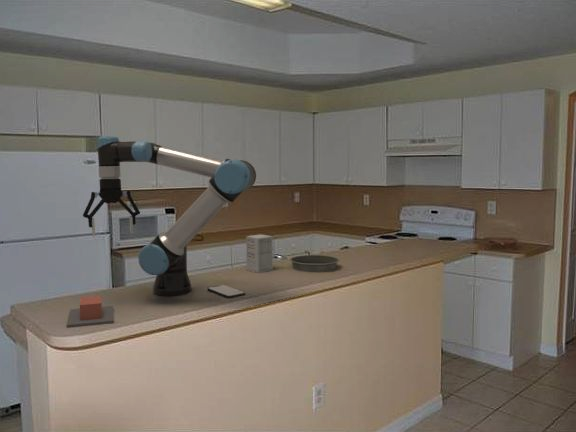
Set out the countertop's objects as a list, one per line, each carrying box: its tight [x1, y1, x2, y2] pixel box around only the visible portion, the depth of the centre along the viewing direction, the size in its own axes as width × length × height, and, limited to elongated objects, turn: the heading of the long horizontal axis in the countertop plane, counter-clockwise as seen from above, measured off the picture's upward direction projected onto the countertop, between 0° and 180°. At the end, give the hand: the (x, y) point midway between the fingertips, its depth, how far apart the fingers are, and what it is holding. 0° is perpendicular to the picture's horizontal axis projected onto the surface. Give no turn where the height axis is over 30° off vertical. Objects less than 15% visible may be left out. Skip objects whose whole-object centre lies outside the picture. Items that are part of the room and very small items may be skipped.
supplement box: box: [245, 233, 273, 274], centre depth 245 cm, size 10×9×17 cm
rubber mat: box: [66, 305, 115, 328], centre depth 170 cm, size 14×18×1 cm
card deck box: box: [79, 295, 103, 320], centre depth 169 cm, size 10×6×5 cm, turn 20°
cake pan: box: [289, 254, 340, 273], centre depth 253 cm, size 25×25×4 cm
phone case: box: [206, 284, 246, 299], centre depth 203 cm, size 9×2×16 cm
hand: (113, 234), depth 191 cm, fingers open, 13 cm apart
